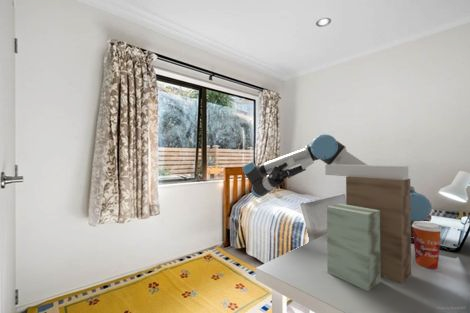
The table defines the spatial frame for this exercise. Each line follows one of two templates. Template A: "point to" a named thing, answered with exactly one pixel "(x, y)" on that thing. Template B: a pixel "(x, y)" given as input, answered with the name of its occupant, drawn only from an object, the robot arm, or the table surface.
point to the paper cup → (426, 243)
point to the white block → (368, 171)
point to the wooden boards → (370, 232)
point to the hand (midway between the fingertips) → (303, 160)
